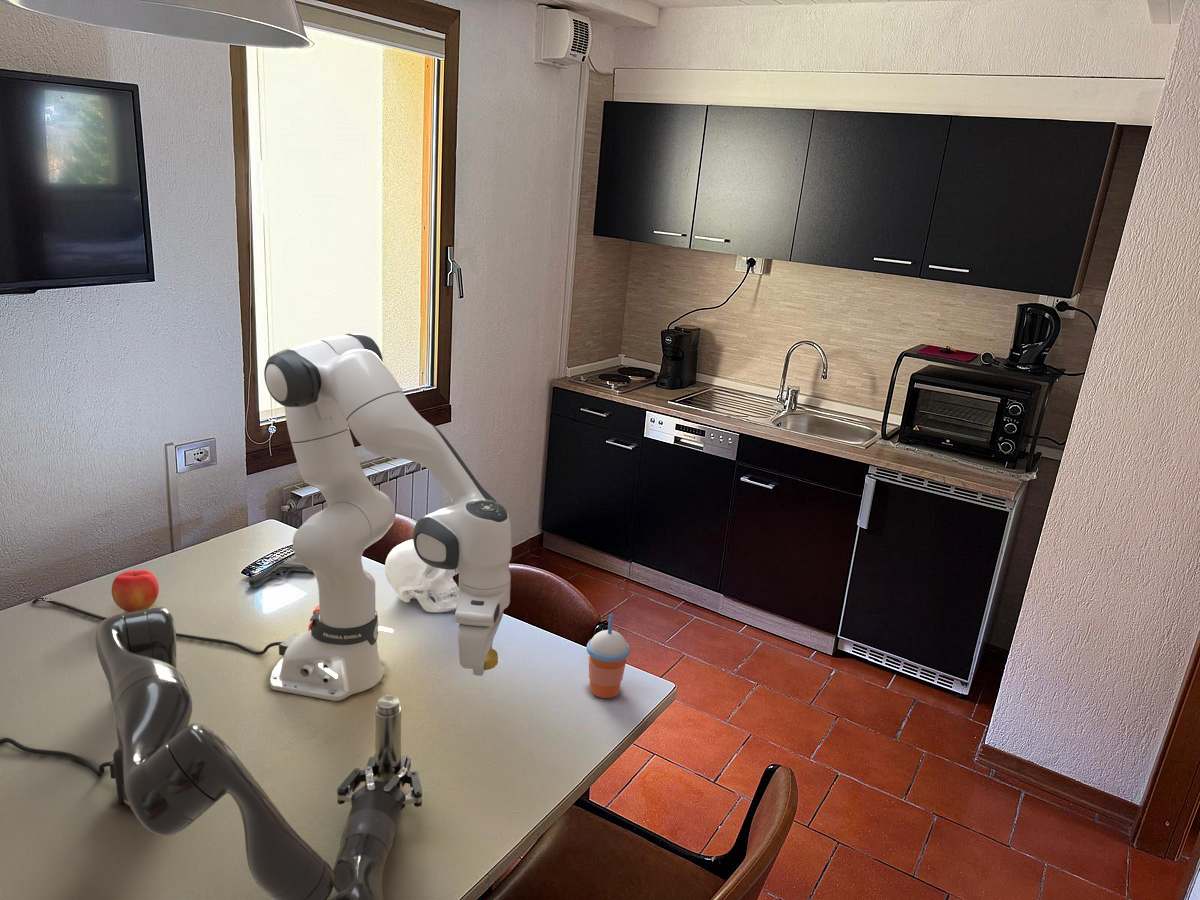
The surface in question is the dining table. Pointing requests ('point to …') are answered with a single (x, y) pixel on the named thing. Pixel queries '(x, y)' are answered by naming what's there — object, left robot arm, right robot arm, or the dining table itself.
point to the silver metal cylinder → (387, 738)
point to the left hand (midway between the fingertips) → (390, 758)
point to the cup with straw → (607, 661)
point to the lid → (491, 659)
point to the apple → (135, 590)
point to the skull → (420, 579)
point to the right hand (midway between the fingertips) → (482, 664)
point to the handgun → (278, 571)
